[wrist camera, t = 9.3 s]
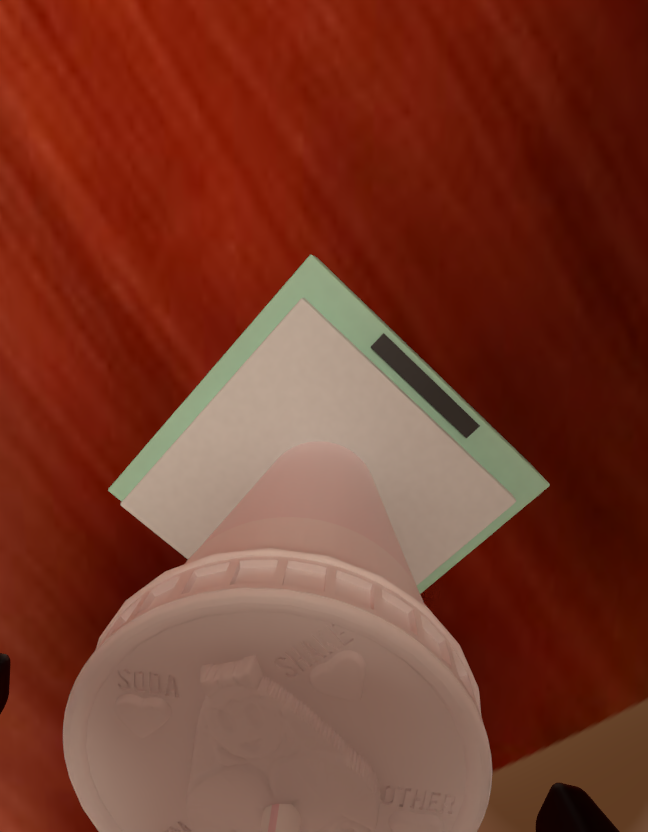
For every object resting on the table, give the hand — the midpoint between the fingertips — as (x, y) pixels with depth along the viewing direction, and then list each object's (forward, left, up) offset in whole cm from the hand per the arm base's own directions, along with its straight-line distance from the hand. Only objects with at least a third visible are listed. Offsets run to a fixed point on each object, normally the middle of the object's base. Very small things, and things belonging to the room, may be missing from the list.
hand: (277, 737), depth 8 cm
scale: (0, 0, -12) cm, 12 cm away
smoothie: (0, 0, -9) cm, 9 cm away
